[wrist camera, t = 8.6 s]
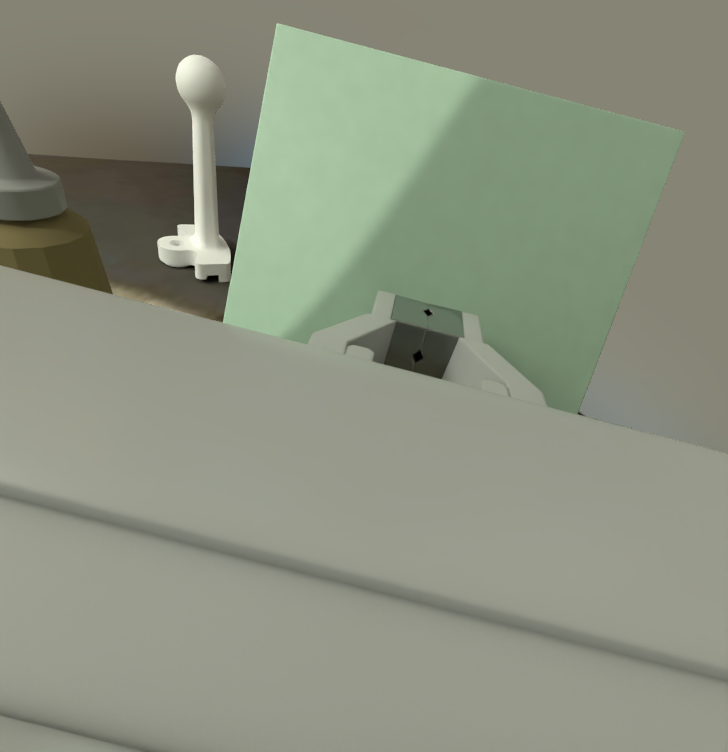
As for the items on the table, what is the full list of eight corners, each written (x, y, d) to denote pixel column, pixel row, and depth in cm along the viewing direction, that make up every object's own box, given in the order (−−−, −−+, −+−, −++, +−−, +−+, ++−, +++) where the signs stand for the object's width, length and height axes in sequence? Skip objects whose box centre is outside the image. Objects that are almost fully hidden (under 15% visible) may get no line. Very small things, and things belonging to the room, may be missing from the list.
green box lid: (283, 39, 12) (276, 21, 11) (666, 141, 12) (686, 131, 11) (197, 506, 15) (187, 518, 14) (500, 583, 15) (507, 599, 14)
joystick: (239, 281, 47) (242, 69, 34) (168, 284, 43) (143, 48, 31) (215, 241, 54) (211, 53, 41) (152, 241, 50) (127, 35, 38)
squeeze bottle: (-28, 389, 28) (-200, 65, 17) (78, 336, 34) (5, 75, 23) (64, 436, 26) (-57, 117, 15) (157, 372, 32) (120, 114, 21)
